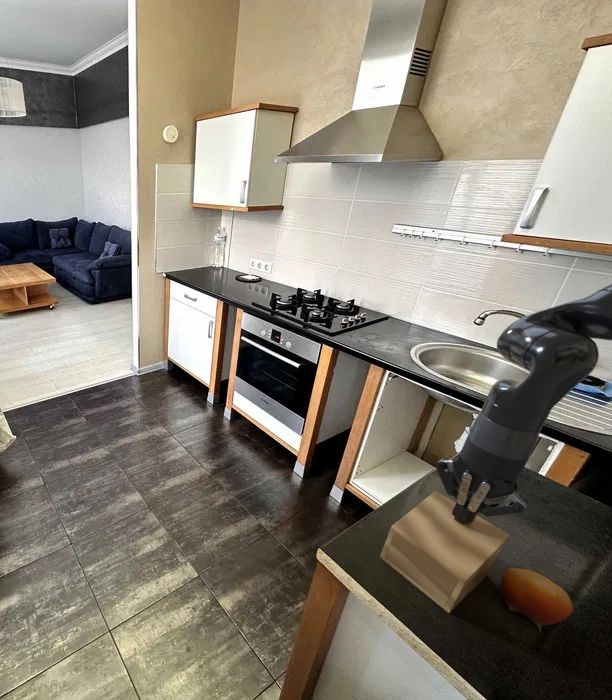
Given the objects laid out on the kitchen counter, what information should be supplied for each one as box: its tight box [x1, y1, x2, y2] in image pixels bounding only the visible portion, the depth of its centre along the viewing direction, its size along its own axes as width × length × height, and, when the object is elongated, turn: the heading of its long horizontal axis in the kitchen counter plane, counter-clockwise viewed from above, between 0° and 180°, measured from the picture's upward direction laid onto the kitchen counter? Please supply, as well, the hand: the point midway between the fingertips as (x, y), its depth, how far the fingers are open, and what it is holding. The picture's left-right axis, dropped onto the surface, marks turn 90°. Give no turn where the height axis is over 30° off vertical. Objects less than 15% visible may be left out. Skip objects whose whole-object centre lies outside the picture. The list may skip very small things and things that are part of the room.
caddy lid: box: [390, 490, 511, 583], centre depth 66 cm, size 14×12×1 cm
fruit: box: [500, 567, 574, 633], centre depth 61 cm, size 8×8×8 cm
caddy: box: [379, 529, 504, 614], centre depth 68 cm, size 14×12×7 cm
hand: (460, 520), depth 67 cm, fingers closed
